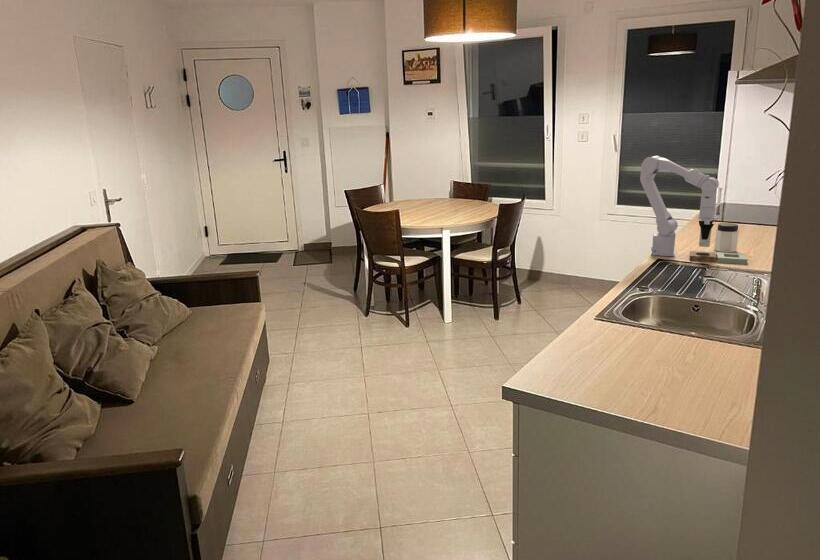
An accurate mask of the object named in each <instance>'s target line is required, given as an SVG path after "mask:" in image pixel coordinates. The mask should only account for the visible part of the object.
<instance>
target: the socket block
mask: <svg viewBox="0 0 820 560" xmlns="http://www.w3.org/2000/svg"><path fill="white" fill-rule="evenodd" d="M689 255H690V256H689V261H691V260H692V261H695V262H708V263H709V262H710V263H711V262H712V263H716V262H717V259H716V251H715V252H714V251H699V250H689Z"/></svg>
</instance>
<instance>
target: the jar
mask: <svg viewBox="0 0 820 560" xmlns="http://www.w3.org/2000/svg"><path fill="white" fill-rule="evenodd" d="M738 229H739V225H738V224H737V223H731V222H730V223H729V222H719V223H718V224H717V229H716V230H715V240H714V247H713V248H714V249H713V250H714V251H715V252H724V253H736V252H737V248H738V241H739V240H738V239H739V230H738Z"/></svg>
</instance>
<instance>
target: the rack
mask: <svg viewBox="0 0 820 560" xmlns="http://www.w3.org/2000/svg"><path fill="white" fill-rule="evenodd" d="M715 254H716V262H717V263H722V264H736V265H737V264H739V265H740V264H741V265H747V264H748V257H747V256H746V253H740V252H739V253H736V252H731V253H727V252H719V251H715Z"/></svg>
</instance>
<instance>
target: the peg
mask: <svg viewBox="0 0 820 560" xmlns="http://www.w3.org/2000/svg"><path fill="white" fill-rule="evenodd" d="M712 228H713V227H712ZM712 228H711V230H710V233H709V237H708V239H707V240H703V239H702V237H701V228H700V230H699V239H698V247H704V248H705V247H706V248H710V244H711V237H712Z"/></svg>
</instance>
